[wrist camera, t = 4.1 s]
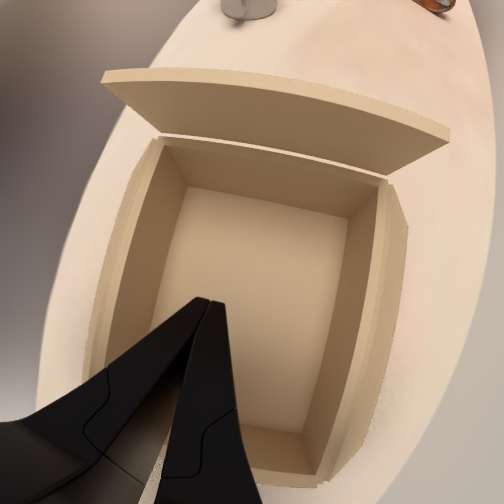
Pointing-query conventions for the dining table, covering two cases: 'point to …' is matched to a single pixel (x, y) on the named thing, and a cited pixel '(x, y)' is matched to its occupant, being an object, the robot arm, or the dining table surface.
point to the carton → (264, 290)
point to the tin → (437, 5)
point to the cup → (248, 8)
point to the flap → (278, 115)
